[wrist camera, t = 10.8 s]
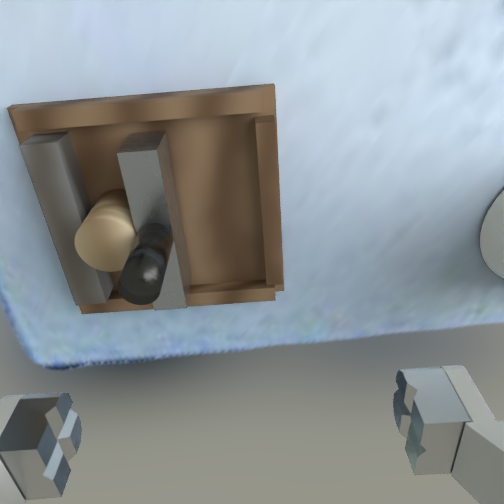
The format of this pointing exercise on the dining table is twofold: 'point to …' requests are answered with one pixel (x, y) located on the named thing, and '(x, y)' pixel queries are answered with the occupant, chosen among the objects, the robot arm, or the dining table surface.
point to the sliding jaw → (153, 226)
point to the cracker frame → (186, 178)
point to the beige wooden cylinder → (107, 232)
